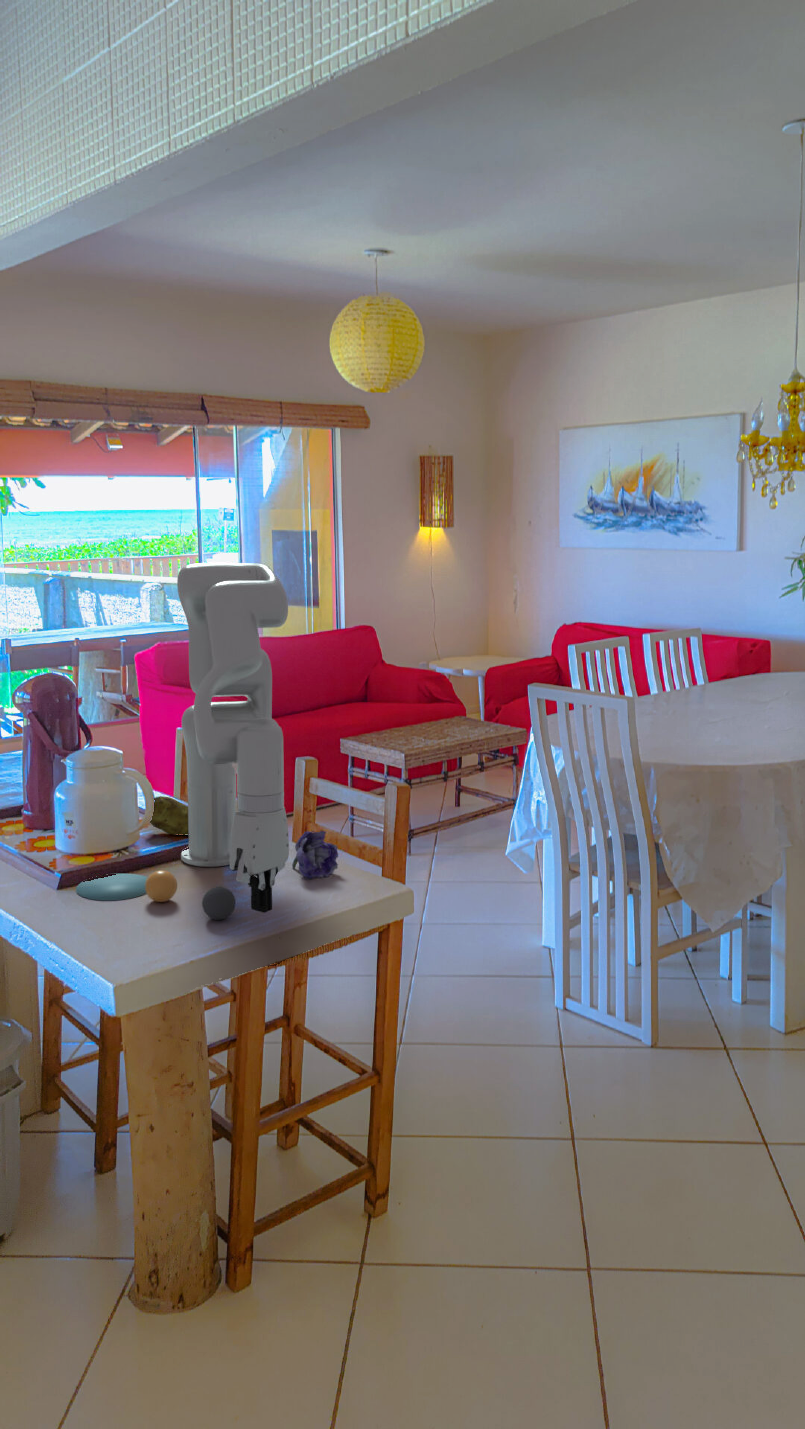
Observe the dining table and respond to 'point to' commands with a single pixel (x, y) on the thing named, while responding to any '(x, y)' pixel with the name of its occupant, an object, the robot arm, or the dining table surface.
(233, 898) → the dark grey ball
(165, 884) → the object ball
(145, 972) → the dining table surface
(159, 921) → the dining table surface
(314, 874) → the flower
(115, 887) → the teal flat disc
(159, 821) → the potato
